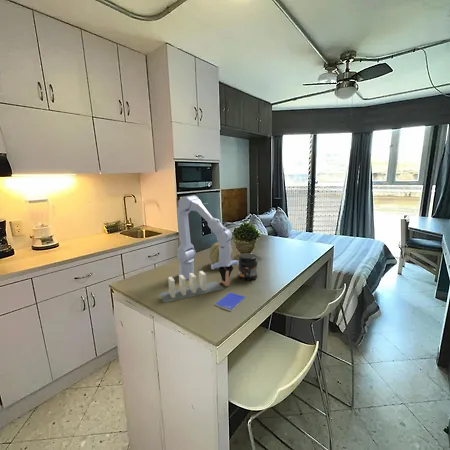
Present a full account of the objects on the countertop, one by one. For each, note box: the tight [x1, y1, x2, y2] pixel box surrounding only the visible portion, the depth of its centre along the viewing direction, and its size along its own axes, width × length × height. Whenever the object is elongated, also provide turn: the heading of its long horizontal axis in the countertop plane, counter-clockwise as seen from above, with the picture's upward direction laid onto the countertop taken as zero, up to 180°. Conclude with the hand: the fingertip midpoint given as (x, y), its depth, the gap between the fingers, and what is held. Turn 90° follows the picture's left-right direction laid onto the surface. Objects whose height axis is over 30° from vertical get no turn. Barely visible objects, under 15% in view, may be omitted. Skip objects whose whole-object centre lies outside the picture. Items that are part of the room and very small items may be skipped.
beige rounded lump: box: [208, 241, 234, 264], centre depth 152 cm, size 15×15×15 cm
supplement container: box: [237, 252, 258, 281], centre depth 134 cm, size 10×10×12 cm
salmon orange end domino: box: [221, 267, 230, 287], centre depth 126 cm, size 5×2×8 cm, turn 26°
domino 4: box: [198, 270, 207, 291], centre depth 120 cm, size 5×2×8 cm, turn 26°
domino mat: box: [158, 280, 225, 303], centre depth 119 cm, size 10×29×1 cm, turn 116°
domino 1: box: [167, 276, 176, 298], centre depth 114 cm, size 5×2×8 cm, turn 26°
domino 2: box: [178, 275, 187, 295], centre depth 116 cm, size 5×2×8 cm, turn 26°
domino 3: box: [188, 273, 197, 293], centre depth 118 cm, size 5×2×8 cm, turn 26°
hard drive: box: [214, 292, 246, 312], centre depth 109 cm, size 2×8×12 cm
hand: (225, 280), depth 126 cm, fingers closed on salmon orange end domino, 1 cm apart
